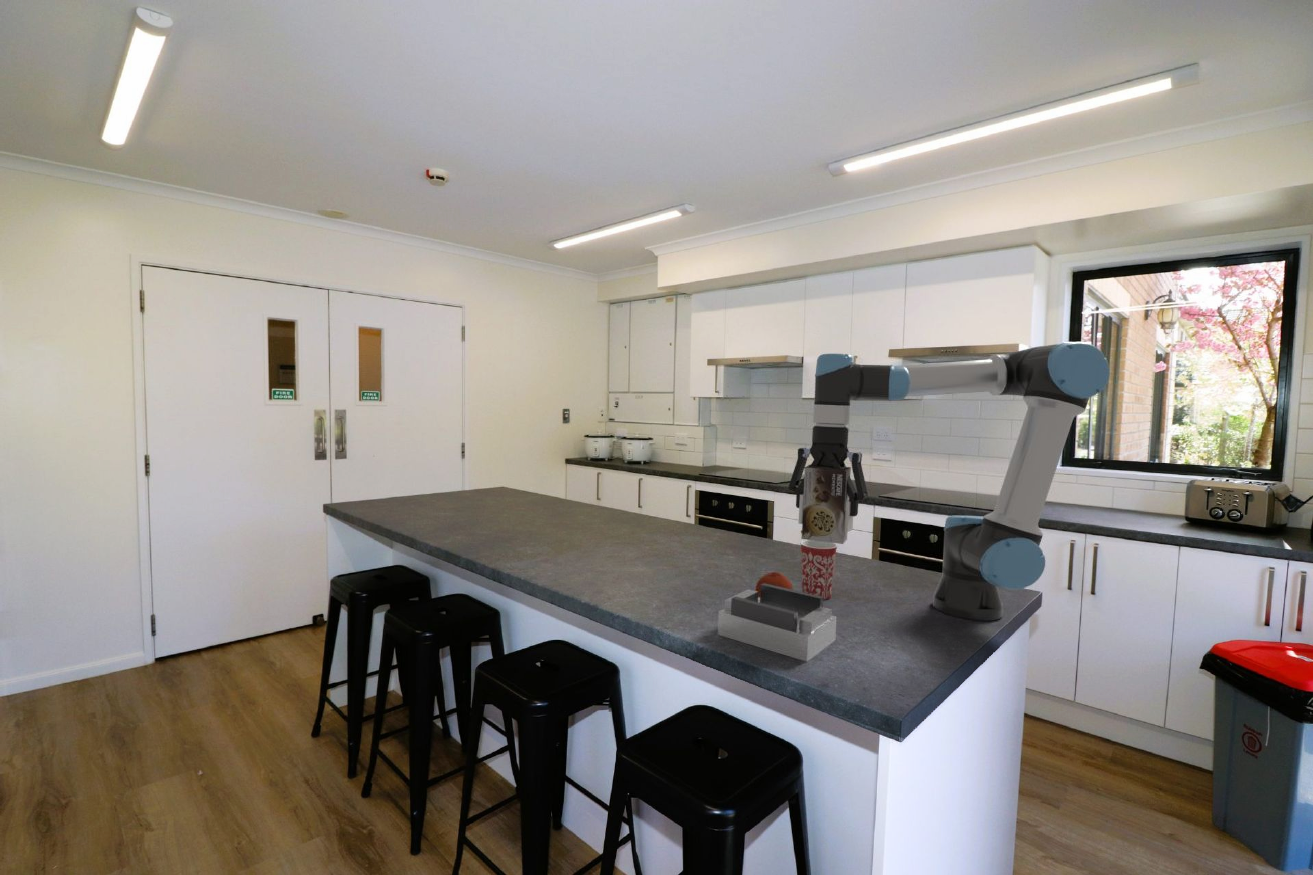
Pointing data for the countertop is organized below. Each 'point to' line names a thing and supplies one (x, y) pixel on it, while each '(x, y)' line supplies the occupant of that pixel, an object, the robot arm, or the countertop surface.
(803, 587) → the mug
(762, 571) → the countertop surface
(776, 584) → the fruit
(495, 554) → the countertop surface
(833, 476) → the coffee box
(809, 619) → the grey tray box
